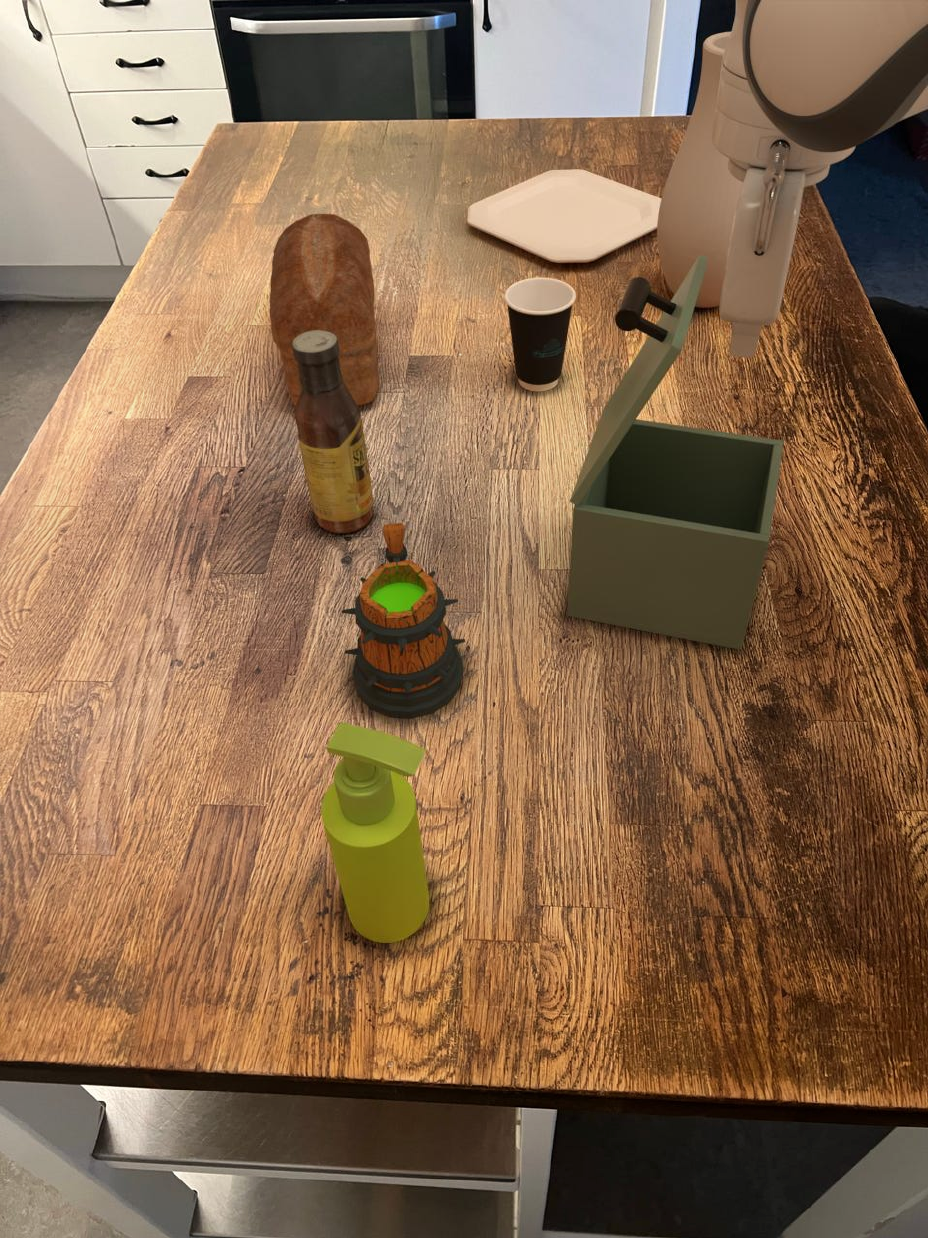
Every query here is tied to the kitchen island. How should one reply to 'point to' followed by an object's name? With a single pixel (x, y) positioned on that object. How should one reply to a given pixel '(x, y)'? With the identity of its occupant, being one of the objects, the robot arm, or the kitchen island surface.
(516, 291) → the dixie cup
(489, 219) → the plate
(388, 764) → the soap dispenser
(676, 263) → the vase
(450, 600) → the mug
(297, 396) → the bread
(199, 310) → the kitchen island surface
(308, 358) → the sauce bottle
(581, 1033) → the kitchen island surface
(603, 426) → the bin lid
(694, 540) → the bin
